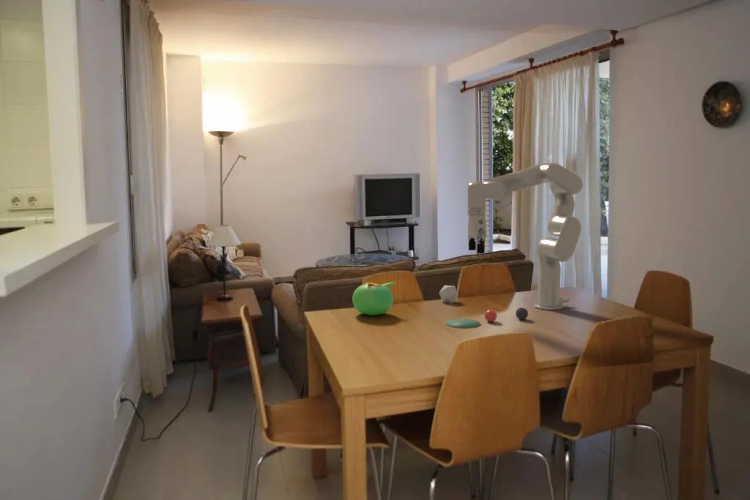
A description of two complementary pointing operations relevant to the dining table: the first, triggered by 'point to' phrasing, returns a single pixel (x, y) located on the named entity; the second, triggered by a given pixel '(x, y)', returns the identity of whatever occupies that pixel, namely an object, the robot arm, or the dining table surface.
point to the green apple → (373, 298)
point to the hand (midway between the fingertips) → (476, 251)
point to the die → (448, 294)
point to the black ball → (521, 313)
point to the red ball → (490, 315)
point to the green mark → (463, 323)
